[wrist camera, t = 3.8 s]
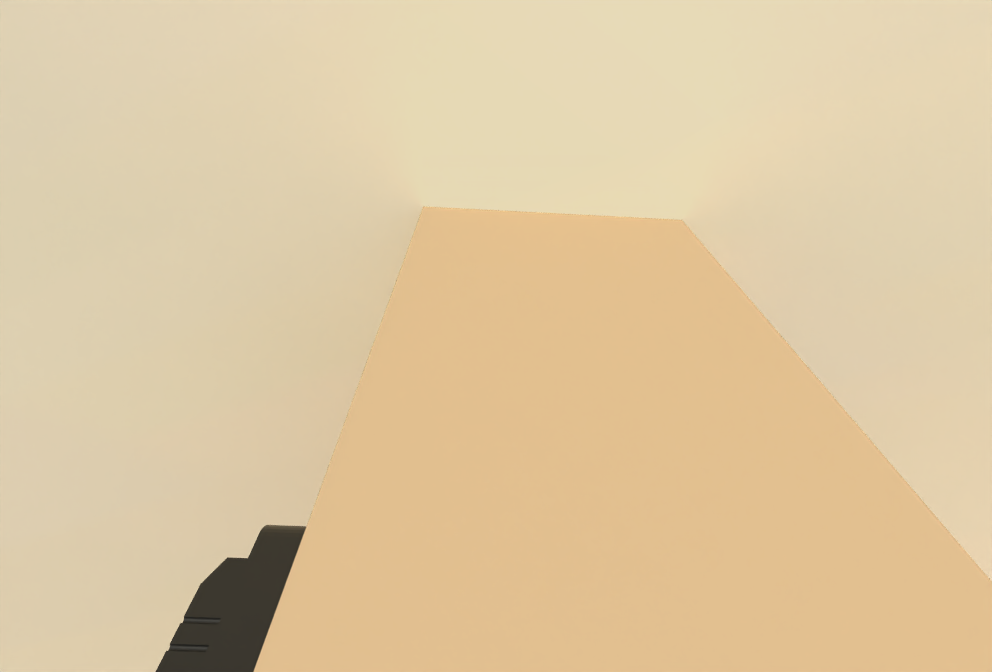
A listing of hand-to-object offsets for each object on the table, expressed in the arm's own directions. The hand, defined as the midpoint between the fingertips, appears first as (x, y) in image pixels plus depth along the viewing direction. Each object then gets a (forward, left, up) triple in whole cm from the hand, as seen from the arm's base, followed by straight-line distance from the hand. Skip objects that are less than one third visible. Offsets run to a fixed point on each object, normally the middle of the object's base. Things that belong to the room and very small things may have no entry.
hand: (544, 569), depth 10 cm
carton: (0, 0, -4) cm, 4 cm away
